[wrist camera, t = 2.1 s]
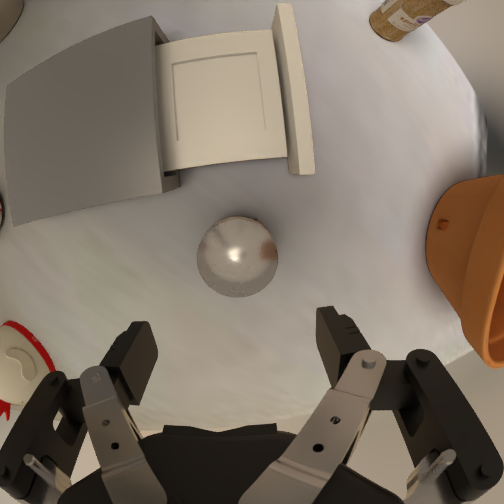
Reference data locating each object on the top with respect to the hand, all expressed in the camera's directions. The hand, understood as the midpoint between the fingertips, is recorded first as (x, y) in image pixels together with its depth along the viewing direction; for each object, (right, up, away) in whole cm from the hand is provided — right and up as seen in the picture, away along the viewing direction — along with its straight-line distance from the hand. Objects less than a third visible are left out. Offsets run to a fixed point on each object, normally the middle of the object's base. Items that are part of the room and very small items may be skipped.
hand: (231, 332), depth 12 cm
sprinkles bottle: (+16, +30, +7) cm, 34 cm away
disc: (0, +4, +11) cm, 12 cm away
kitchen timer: (-39, -14, +20) cm, 46 cm away
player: (-16, +17, +10) cm, 25 cm away
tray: (-4, +18, +10) cm, 21 cm away
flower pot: (+29, +6, +15) cm, 33 cm away
